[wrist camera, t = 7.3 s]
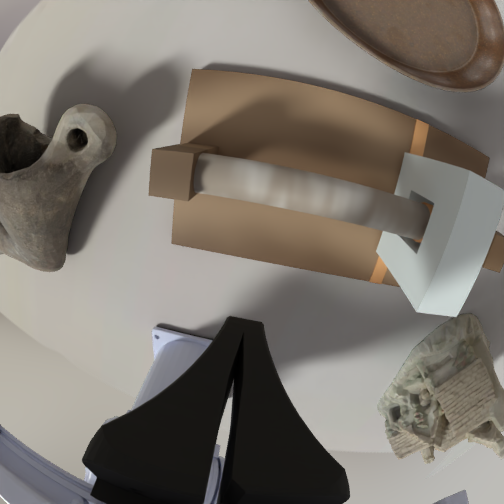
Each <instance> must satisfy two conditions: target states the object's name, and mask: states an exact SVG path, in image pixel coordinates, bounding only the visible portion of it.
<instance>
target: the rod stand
mask: <svg viewBox="0 0 504 504" xmlns="http://www.w3.org/2000/svg"><path fill="white" fill-rule="evenodd" d="M405 152H406V153H410V154H414V155H418V156H422V157H426V158H430V159H433V160H437V161H441V162H444V163H447V164H451V165H454V166H457V167H460V168H464V169H467V170H470V171H472V172H474V173H475V174H477V175H479V176H481V177H483V178H484V179H485V176H486V172H487V168H488V163H489V157H488V156H486V155H484V154H483V153H481V152H479V151H478V150H476V149H474V148H473V147H471V146H469V145H467V144H465V143H464V142H462V141H460V140H458V139H456V138H454V137H453V136H451V135H449V134H447V133H445V132H443V131H441V130H439V129H437V128H434V127H432V126H430V125H429V124H427V123H424V122H422V121H420V120H418V119H415V118H412V117H410V116H408V115H405V114H403V113H400V112H398V111H395V110H392V109H390V108H387V107H384V106H382V105H379V104H376V103H373V102H370V101H367V100H364V99H361V98H358V97H355V96H352V95H348V94H345V93H341V92H338V91H334V90H330V89H327V88H323V87H319V86H314V85H310V84H306V83H301V82H296V81H291V80H286V79H281V78H275V77H269V76H262V75H255V74H248V73H239V72H230V71H218V70H203V69H192V73H191V79H190V84H189V90H188V95H187V101H186V107H185V114H184V120H183V127H182V135H181V142H180V144H178V145H172V146H166V147H161V148H156V149H152V157H151V168H150V182H149V196H156V197H162V198H169V199H174V212H173V227H172V244H176V245H181V246H186V247H191V248H196V249H201V250H206V251H211V252H217V253H222V254H227V255H232V256H237V257H242V258H248V259H253V260H258V261H263V262H268V263H274V264H279V265H284V266H289V267H295V268H300V269H305V270H311V271H316V272H321V273H327V274H332V275H337V276H343V277H348V278H354V279H359V280H365V281H369V282H372V283H378V284H386V285H392V286H397V287H400V286H399V284H398V282H397V281H396V279H395V278H394V276H393V275H392V274H391V272H390V271H389V269H388V268H387V266H386V265H385V263H384V262H383V260H382V259H381V258H380V256H379V255H378V253H377V252H376V250H377V247H378V244H379V241H380V238H381V235H382V232H383V231H385V232H389V233H393V234H397V235H401V236H404V237H408V238H412V239H413V240H414V241H415V242H418V243H421V242H422V239H423V236H424V233H425V231H426V228H427V225H428V222H429V219H430V216H431V213H432V210H433V206H434V205H431V204H428V203H425V202H422V203H419V202H416V201H413V200H410V199H407V198H404V197H401V196H397V195H394V193H395V189H396V186H397V182H398V178H399V174H400V170H401V166H402V162H403V158H404V154H405ZM503 264H504V236H503V235H502V234H500V233H499V232H497V231H496V232H495V234H494V237H493V240H492V243H491V245H490V248H489V250H488V253H487V255H486V258H485V260H484V263H483V265H482V267H483V268H486V269H490V270H493V271H496V272H499V273H500V271H501V269H502V266H503Z"/></svg>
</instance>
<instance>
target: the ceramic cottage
mask: <svg viewBox="0 0 504 504" xmlns="http://www.w3.org/2000/svg"><path fill="white" fill-rule="evenodd" d="M489 345H490V342H489V341H488V340H487V338H486V335H485V334H484V332H483V328H482V326H481V324H480V322H479V320H478V318H477V317H476V316H475V315H473V314H470V313H468V314H461V315H458V316H457V317H453V318H451V319H450V320H448V321H447V322H445V323H443V324H442V325H440V326H439V327H438V328H437V329H435V330H434V331H433V332H432V333H430V334H429V335H428V336H427V337H426V338H424V341H422V342H421V344H418V345H417V346H416V347H415V348H414V349H413V350H412V351H411V353H410V355H409V356H408V358H407V360H406V361H405V363H404V365H403V366H402V368H401V370H400V371H399V372H398V374H397V376H396V378H394V380H393V382H392V384H391V385H390V387H389V388H388V389H387V390H386V392H385V394H384V395H383V396H382V398H381V399H380V400H379V402H378V405H377V408H378V411H379V413H380V415H382V416H383V417H385V419H387V420H386V421H385V427H386V430H385V433H386V434H387V439H389V442H390V444H391V446H392V449H393V451H394V453H395V455H396V456H397V458H398V459H403V458H405V457H407V456H409V455H411V454H413V453H415V452H417V451H421V454H422V457H423V459H424V462H425V464H428V463H431V462H432V461H434V459H435V458H434V455H433V452H434V448H435V450H438V451H442V452H446V450H448V449H449V448H451V447H453V446H455V445H456V444H458V443H459V442H461V441H462V440H464V439H466V438H468V442H476V443H479V444H483V445H485V446H486V447H487V448H493V450H494V452H495V453H496V454H497V455H498V456H499V457H500V458H501V459H503V458H504V436H503V435H502V434H501V432H503V431H504V389H503V388H502V386H501V385H500V382H499V380H498V377H497V375H496V373H495V371H494V366H493V358H492V356H491V354H490V352H489Z"/></svg>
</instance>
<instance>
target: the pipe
mask: <svg viewBox="0 0 504 504" xmlns="http://www.w3.org/2000/svg"><path fill="white" fill-rule="evenodd" d="M116 140H117V134H116V129H115V127H114V124H113V122H112V120H111V119H110V117H109V116H108V115H107V114H106V113H105V112H104V111H102V110H101V109H100V108H99V107H96V106H93V105H88V104H78V105H75V106H73V107H71V108H69V109H68V110H67V111H66V112H65V113H64V114H63V115H62V117H61V119H60V121H59V123H58V126H57V128H56V131H55V133H54V136H53V139H52V138H50V137H48V136H46V135H44V134H42V133H41V132H40V131H39V130H38V129H36V128H35V127H33V126H31V125H29V124H27V123H25V122H23V121H22V120H21V119H20V116H19V114H7V115H4V116H1V117H0V254H6V255H8V256H10V257H12V258H14V259H17V260H19V261H21V262H23V263H25V264H27V265H28V266H30V267H32V268H34V269H37V270H40V271H45V272H55V271H58V270H60V269H61V268H62V267H63V265H64V263H65V259H66V250H67V245H68V236H69V231H70V227H71V223H72V220H73V217H74V213H75V210H76V207H77V205H78V202H79V199H80V197H81V194H82V191H83V189H84V187H85V185H86V182H87V180H88V178H89V176H90V174H91V172H92V170H93V169H94V168H95V167H96V166H97V165H99V164H101V163H102V162H104V161H106V160H107V159H108V158H109V157H111V155H112V153H113V151H114V148H115V146H116Z"/></svg>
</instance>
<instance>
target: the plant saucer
mask: <svg viewBox="0 0 504 504" xmlns="http://www.w3.org/2000/svg"><path fill="white" fill-rule="evenodd" d="M308 1H309V2H310V3H311V4H312V5H313V6H314V7H315V9H316V10H317V11H318V12H319V13H320V14H321V15H322V16H323V17H324V18H325V19H326V20H327V21H328V22H330V23H331V24H332V25H333V26H334V27H335V28H336V29H337V30H339V31H340V32H341V33H342V34H343V35H345V36H346V37H347V38H348V39H349V40H351V41H352V42H353V43H355V44H356V45H357V46H359V47H360V48H361V49H363V50H364V51H366V52H367V53H368V54H370V55H371V56H373V57H374V58H376V59H377V60H379V61H381V62H382V63H384V64H385V65H387V66H389V67H391V68H392V69H394V70H396V71H398V72H400V73H401V74H403V75H405V76H407V77H409V78H412V79H414V80H416V81H418V82H421V83H423V84H426V85H429V86H432V87H435V88H438V89H442V90H447V91H453V92H472V91H477V90H480V89H482V88H485V87H486V86H488V85H490V84H491V83H492V82H493V81H494V80H495V79H496V78H497V76H498V75H499V74H500V72H501V70H502V68H503V65H504V24H503V21H502V18H501V14H500V12H499V9H498V7H497V5H496V3H495V1H494V0H308Z"/></svg>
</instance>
